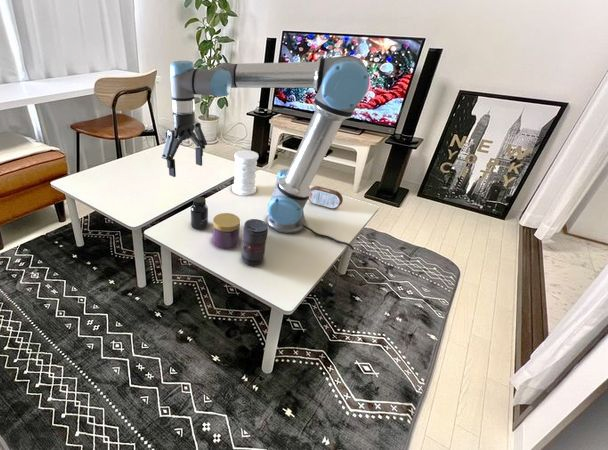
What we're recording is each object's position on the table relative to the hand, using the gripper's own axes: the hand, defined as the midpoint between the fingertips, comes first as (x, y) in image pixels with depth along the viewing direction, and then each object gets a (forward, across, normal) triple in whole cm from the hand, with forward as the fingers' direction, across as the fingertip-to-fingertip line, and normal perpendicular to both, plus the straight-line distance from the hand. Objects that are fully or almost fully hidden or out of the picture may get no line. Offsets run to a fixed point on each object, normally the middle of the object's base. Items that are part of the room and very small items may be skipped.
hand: (186, 170), depth 126 cm
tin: (+25, -52, +33) cm, 66 cm away
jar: (+24, -1, +19) cm, 31 cm away
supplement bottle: (+24, -2, +4) cm, 24 cm away
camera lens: (+24, +1, +33) cm, 41 cm away
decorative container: (+24, -40, -2) cm, 47 cm away
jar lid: (+15, -1, +19) cm, 24 cm away
